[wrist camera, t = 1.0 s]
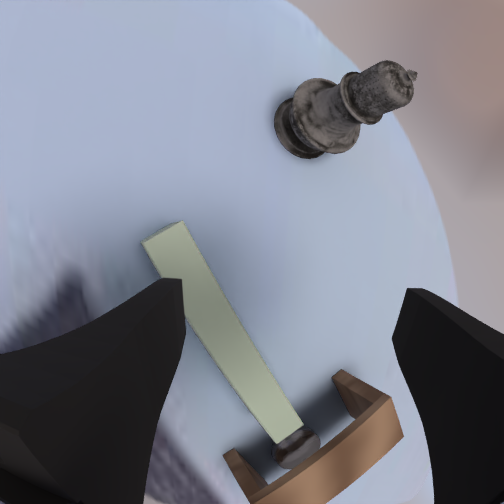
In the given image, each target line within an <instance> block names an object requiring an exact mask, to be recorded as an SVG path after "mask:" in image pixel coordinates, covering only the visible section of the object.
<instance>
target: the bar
mask: <svg viewBox="0 0 504 504" xmlns="http://www.w3.org/2000/svg"><path fill="white" fill-rule="evenodd" d="M140 242H141V244H142V246H143V248H144V249H145V251H146V253H147V255H148V256H149V258H150V260H151V262H152V263H153V265H154V267H155V269H156V270H157V272H158V274H159V275H160V277H161V278H163V277H164V278H178V279H182V287H183V301H184V314H185V318H186V319H187V321H188V323H189V324H190V326H191V327H192V329H193V330H194V332H195V333H196V335H197V336H198V338H199V340H200V341H201V343H202V344H203V346H204V347H205V349H206V350H207V352H208V353H209V355H210V356H211V357H212V359H213V360H214V362H215V363H216V365H217V366H218V368H219V369H220V371H221V372H222V373H223V375H224V376H225V378H226V379H227V381H228V382H229V383H230V385H231V386H232V388H233V389H234V390H235V392H236V393H237V395H238V396H239V397H240V399H241V400H242V401H243V403H244V404H245V406H246V407H247V408H248V410H249V411H250V412H251V414H252V415H253V416H254V417H255V419H256V420H257V421H258V422H259V424H260V425H261V426H262V427H263V428H264V430H265V431H266V432H267V433H268V435H269V436H270V437H271V438H272V439H273V441H274V442H275V443H276V444H277V443H279V442H280V441H282V440H283V439H285V438H286V437H287V436H289V435H290V434H292V433H293V432H294V431H296V430H297V429H298V428H300V427H301V426H302V425H304V424H303V422H302V421H301V419H300V418H299V416H298V415H297V413H296V412H295V410H294V408H293V407H292V405H291V404H290V402H289V401H288V399H287V397H286V396H285V394H284V393H283V391H282V389H281V388H280V386H279V385H278V383H277V381H276V380H275V378H274V377H273V375H272V373H271V372H270V370H269V369H268V367H267V365H266V364H265V362H264V360H263V359H262V357H261V356H260V354H259V352H258V351H257V349H256V347H255V346H254V344H253V342H252V341H251V339H250V337H249V336H248V334H247V332H246V331H245V329H244V327H243V326H242V324H241V322H240V321H239V319H238V317H237V315H236V314H235V312H234V310H233V309H232V307H231V305H230V303H229V302H228V300H227V298H226V297H225V295H224V293H223V291H222V290H221V288H220V286H219V284H218V283H217V281H216V279H215V277H214V276H213V274H212V272H211V270H210V269H209V267H208V265H207V263H206V262H205V260H204V258H203V256H202V254H201V253H200V251H199V249H198V247H197V245H196V244H195V242H194V240H193V238H192V236H191V235H190V233H189V231H188V229H187V227H186V225H185V224H184V222H183V221H179V222H175V223H171V224H169V225H168V226H166V227H164V228H162V229H161V230H159V231H157V232H156V233H154V234H152V235H150V236H149V237H147V238H145V239H144V240H142V241H140Z"/></svg>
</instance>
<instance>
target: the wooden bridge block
mask: <svg viewBox="0 0 504 504" xmlns="http://www.w3.org/2000/svg"><path fill="white" fill-rule="evenodd" d="M332 379H333V381H334V383H335V385H336V387H337V389H338V391H339V393H340V395H341V397H342V399H343V401H344V403H345V405H346V407H347V409H348V411H349V413H350V415H351V416H352V417H353V418H354V419H356V420H354V421H353V422H352V423H351V424H350V425H349V426H348V427H346V428H345V429H344V430H343V431H342V432H340V433H339V434H338V435H337V436H335V437H334V438H333V439H332V440H331V441H329V442H328V443H327V444H325V445H324V446H323V447H322V448H320V449H319V450H318V451H316V452H315V453H314V454H312V455H311V456H310V457H308V458H307V459H306V460H304V461H303V462H302V463H300V464H299V465H297V466H296V467H295V468H293V469H292V470H290V471H289V472H287V473H286V474H285V475H283V476H282V477H280V478H279V479H277V480H276V481H274V482H272V483H271V484H269V485H268V484H267V482H266V481H265V480H264V479H263V478H262V477H261V476H260V475H259V474H258V473H257V472H256V471H255V470H254V469H253V467H252V466H251V465H250V464H249V463H248V462H247V461H246V460H245V459H244V458H243V457H242V456H241V455H240V454H239V453H238V452H237V451H236V450H235V449H232V450H230V451H229V452H227V453H226V454H224V455H223V457H224V459H225V461H226V462H227V464H228V466H229V468H230V470H231V471H232V473H233V475H234V477H235V479H236V480H237V482H238V484H239V485H240V487H241V489H242V491H243V492H244V494H245V496H246V497H247V499H248V501H249V502H250V504H326V503H327V502H328V501H330V500H331V499H332V498H334V497H335V496H336V495H338V494H339V493H340V492H342V491H343V490H344V489H346V488H347V487H348V486H349V485H351V484H352V483H353V482H354V481H356V480H357V479H358V478H359V477H360V476H362V475H363V474H364V473H365V472H366V471H367V470H369V469H370V468H371V467H372V466H373V465H374V464H375V463H377V462H378V461H379V460H380V459H381V458H382V457H383V456H384V455H385V454H386V453H387V452H388V451H390V450H391V449H392V448H393V447H394V446H395V445H396V444H397V443H398V442H399V441H400V440H401V439H402V438H403V437H404V435H403V432H402V429H401V426H400V422H399V419H398V416H397V413H396V410H395V407H394V404H393V401H392V398H391V397H390V396H389V395H387V394H385V393H383V392H381V391H379V390H378V389H376V388H374V387H372V386H370V385H369V384H367V383H365V382H363V381H361V380H360V379H358V378H356V377H354V376H352V375H351V374H349V373H347V372H345V371H344V370H342V369H341V370H340V371H339V372H338V373H336V374H335V375H334V376H333V377H332Z"/></svg>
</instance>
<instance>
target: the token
mask: <svg viewBox="0 0 504 504" xmlns="http://www.w3.org/2000/svg"><path fill="white" fill-rule="evenodd" d="M319 448H320V439H319V437H318V436H317V435H316V434H315V433H314V432H313V431H312V430H311V429H310V428H308V427H306V426H301V427H300V428H298V429H297V430H296V431H294V432H293V433H292V434H290V435H289V436H287V437H286V438H285V439H283V440H282V441H280V442H279V443H277V444H276V443H275V442H274V443H273V445H272V449H271V453H272V456H273V458H274V459H275V460H276V461H277V463H278V464H279V465H280V466H281V467H282V468H284V469H293V468H295V467H296V466H297V465H299V464H300V463H302V462H303V461H304V460H306V459H307V458H308V457H310V456H311V455H312V454H314V453H315V452H316V451H318V450H319Z"/></svg>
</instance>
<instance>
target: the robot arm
mask: <svg viewBox="0 0 504 504" xmlns="http://www.w3.org/2000/svg"><path fill="white" fill-rule="evenodd" d="M185 335H186V325H185V314H184V301H183V287H182V279H178V278H164V277H163V278H161V279H159V280H158V281H156V282H154V283H153V284H151V285H150V286H148V287H147V288H145V289H144V290H142V291H141V292H139V293H138V294H136V295H135V296H133V297H132V298H130V299H128V300H127V301H125V302H124V303H122V304H121V305H119V306H117V307H116V308H114V309H112V310H111V311H109V312H107V313H106V314H104V315H102V316H101V317H99V318H97V319H95V320H93V321H92V322H90V323H88V324H86V325H84V326H82V327H80V328H77V329H75V330H73V331H71V332H69V333H66V334H64V335H62V336H59V337H56V338H53V339H51V340H48V341H45V342H43V343H40V344H37V345H34V346H31V347H27V348H24V349H20V350H17V351H13V352H8V353H4V354H0V504H143V501H144V493H145V486H146V479H147V473H148V467H149V462H150V456H151V451H152V446H153V441H154V436H155V432H156V427H157V423H158V420H159V417H160V413H161V410H162V408H163V405H164V402H165V399H166V397H167V394H168V391H169V388H170V386H171V383H172V380H173V378H174V375H175V372H176V369H177V367H178V364H179V361H180V358H181V354H182V349H183V345H184V340H185ZM392 341H393V345H394V349H395V353H396V357H397V360H398V363H399V366H400V368H401V371H402V373H403V376H404V378H405V380H406V383H407V385H408V387H409V390H410V392H411V395H412V397H413V400H414V402H415V404H416V407H417V409H418V412H419V415H420V418H421V421H422V424H423V427H424V432H425V436H426V440H427V445H428V450H429V455H430V462H431V468H432V476H433V487H434V504H504V334H502V333H500V332H498V331H497V330H494V329H493V328H491V327H490V326H488V325H486V324H484V323H482V322H481V321H479V320H477V319H476V318H474V317H472V316H470V315H469V314H467V313H466V312H464V311H463V310H461V309H459V308H458V307H456V306H454V305H453V304H451V303H449V302H448V301H446V300H444V299H443V298H441V297H439V296H437V295H436V294H434V293H432V292H430V291H428V290H425V289H423V288H407V290H406V294H405V297H404V301H403V304H402V307H401V311H400V314H399V317H398V321H397V324H396V327H395V330H394V333H393V336H392Z"/></svg>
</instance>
